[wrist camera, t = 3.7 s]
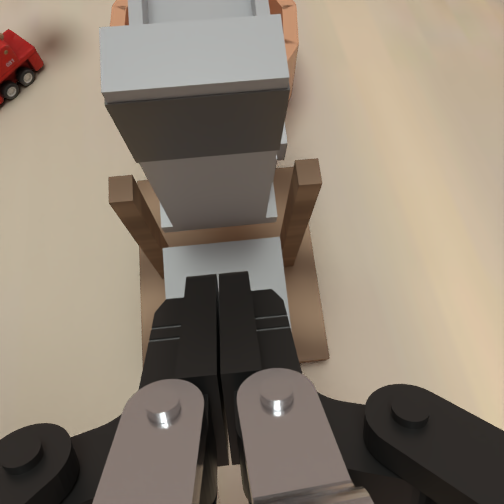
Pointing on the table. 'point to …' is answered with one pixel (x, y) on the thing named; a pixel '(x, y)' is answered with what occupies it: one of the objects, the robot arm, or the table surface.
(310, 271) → the catapult stand
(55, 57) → the table surface
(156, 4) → the grey angular piece
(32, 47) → the toy fire truck
